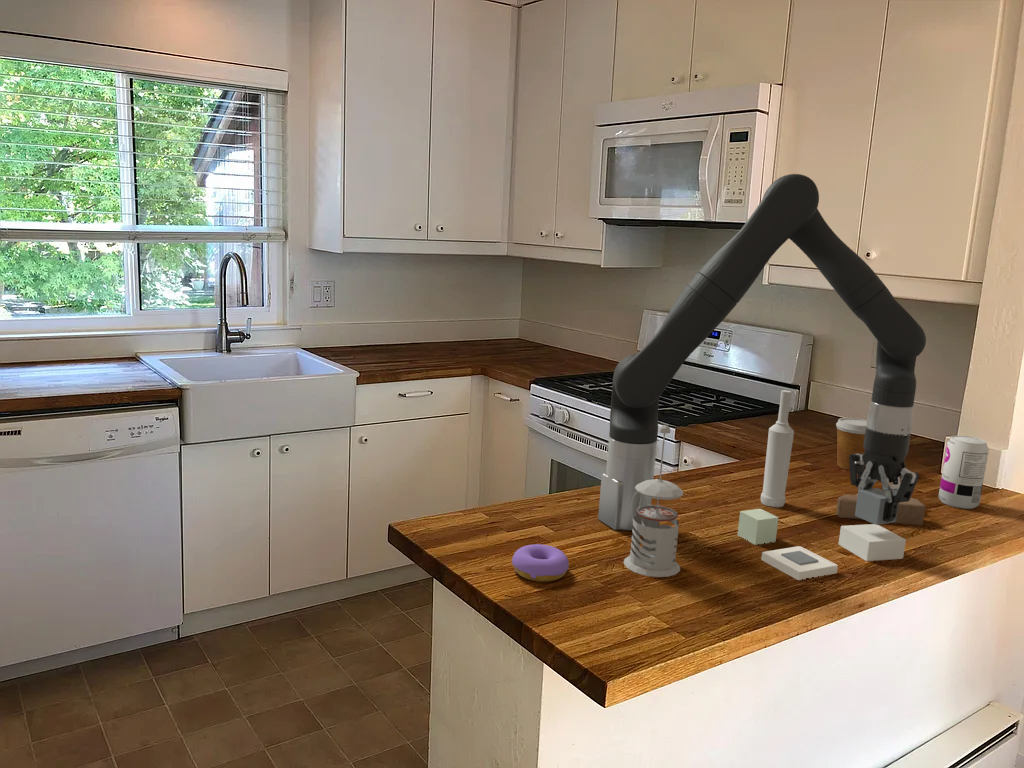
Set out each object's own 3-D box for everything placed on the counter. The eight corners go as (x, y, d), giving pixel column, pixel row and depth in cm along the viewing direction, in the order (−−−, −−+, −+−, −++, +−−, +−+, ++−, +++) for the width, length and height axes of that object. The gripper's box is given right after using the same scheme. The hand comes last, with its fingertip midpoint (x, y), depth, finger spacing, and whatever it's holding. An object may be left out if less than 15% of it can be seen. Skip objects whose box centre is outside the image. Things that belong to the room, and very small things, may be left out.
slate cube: (876, 525, 151) (880, 499, 150) (854, 515, 156) (858, 490, 155) (895, 521, 154) (899, 496, 153) (873, 512, 158) (877, 487, 157)
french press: (643, 580, 137) (656, 434, 133) (607, 553, 148) (619, 417, 143) (692, 573, 141) (707, 431, 136) (654, 547, 152) (667, 414, 147)
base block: (866, 562, 151) (869, 541, 150) (838, 545, 159) (841, 525, 158) (902, 559, 153) (905, 539, 152) (873, 543, 161) (876, 523, 160)
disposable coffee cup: (871, 475, 206) (878, 428, 204) (831, 469, 209) (837, 423, 207) (868, 465, 215) (875, 420, 213) (829, 459, 218) (835, 415, 215)
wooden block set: (931, 501, 171) (842, 494, 172) (927, 527, 172) (838, 520, 173) (900, 476, 187) (819, 470, 188) (897, 500, 188) (816, 493, 190)
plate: (798, 580, 141) (799, 570, 140) (761, 559, 149) (762, 550, 148) (836, 573, 145) (838, 563, 144) (798, 553, 153) (799, 544, 152)
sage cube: (755, 545, 156) (758, 520, 155) (737, 535, 160) (740, 511, 159) (775, 542, 158) (778, 517, 157) (757, 532, 162) (760, 508, 161)
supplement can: (933, 502, 187) (943, 438, 184) (944, 495, 193) (954, 432, 190) (972, 512, 182) (984, 446, 179) (982, 504, 188) (994, 440, 185)
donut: (577, 582, 135) (573, 555, 134) (522, 595, 133) (517, 568, 132) (561, 557, 144) (557, 531, 143) (509, 569, 143) (505, 543, 142)
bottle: (786, 508, 177) (800, 394, 172) (761, 505, 178) (774, 392, 173) (783, 501, 182) (797, 390, 177) (759, 498, 183) (772, 387, 178)
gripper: (842, 419, 156) (831, 505, 159) (907, 439, 143) (893, 531, 147) (871, 417, 159) (859, 501, 162) (937, 436, 147) (922, 527, 150)
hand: (875, 515), depth 154 cm, fingers closed on slate cube, 5 cm apart
